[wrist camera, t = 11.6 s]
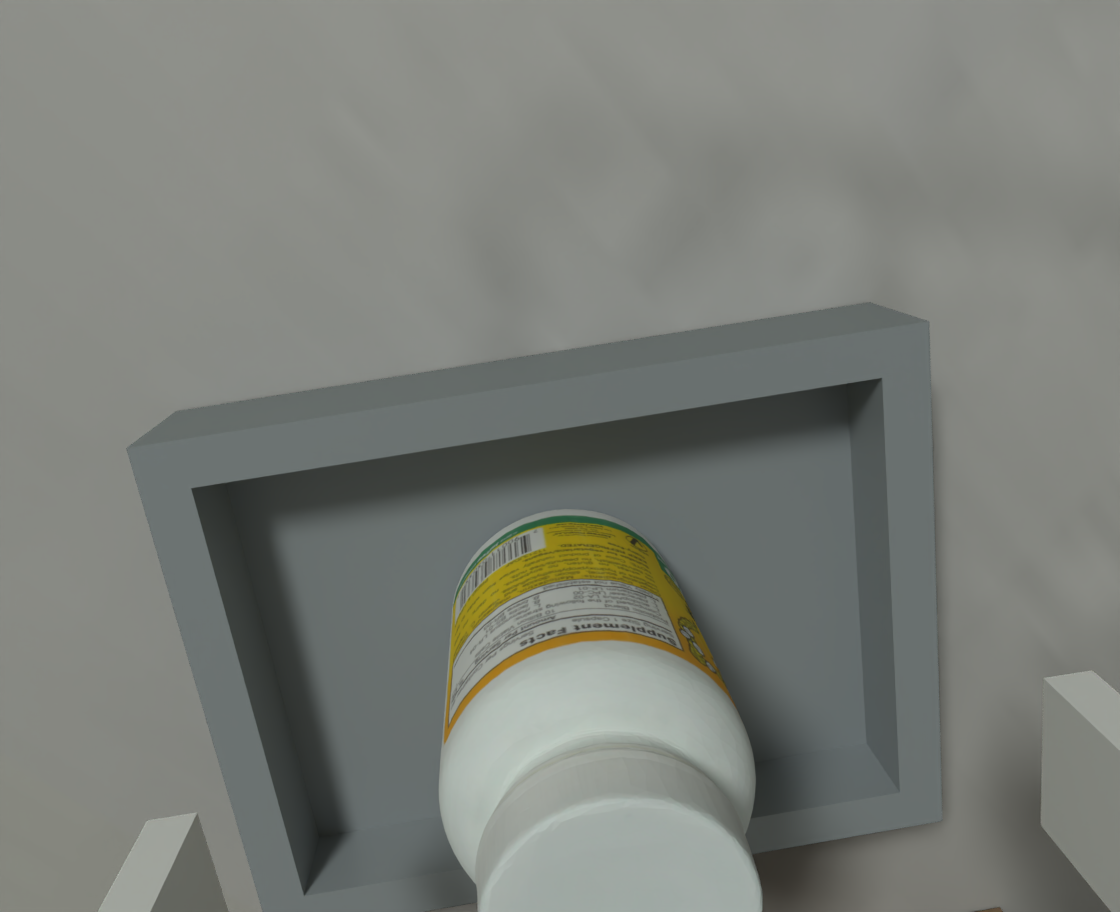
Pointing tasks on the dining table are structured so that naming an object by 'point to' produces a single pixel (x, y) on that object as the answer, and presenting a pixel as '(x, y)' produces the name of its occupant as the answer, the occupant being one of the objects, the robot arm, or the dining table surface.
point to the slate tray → (533, 487)
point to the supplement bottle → (590, 731)
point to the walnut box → (992, 910)
